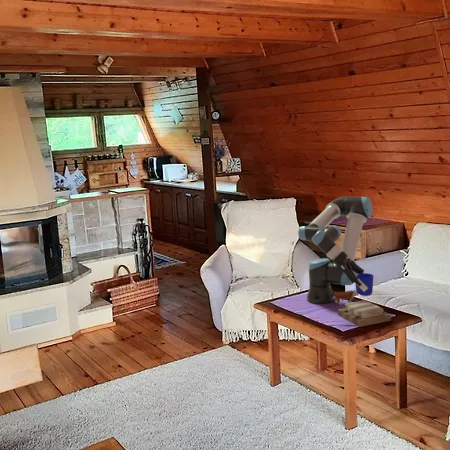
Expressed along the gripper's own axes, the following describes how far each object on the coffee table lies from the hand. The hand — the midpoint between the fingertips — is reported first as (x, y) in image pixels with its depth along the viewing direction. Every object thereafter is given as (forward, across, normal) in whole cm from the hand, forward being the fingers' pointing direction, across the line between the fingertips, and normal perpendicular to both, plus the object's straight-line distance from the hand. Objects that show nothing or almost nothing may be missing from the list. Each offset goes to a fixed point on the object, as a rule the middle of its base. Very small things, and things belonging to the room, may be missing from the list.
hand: (368, 286), depth 283 cm
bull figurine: (+1, -19, -23) cm, 30 cm away
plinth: (+10, 0, -14) cm, 17 cm away
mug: (+2, 0, -5) cm, 6 cm away
